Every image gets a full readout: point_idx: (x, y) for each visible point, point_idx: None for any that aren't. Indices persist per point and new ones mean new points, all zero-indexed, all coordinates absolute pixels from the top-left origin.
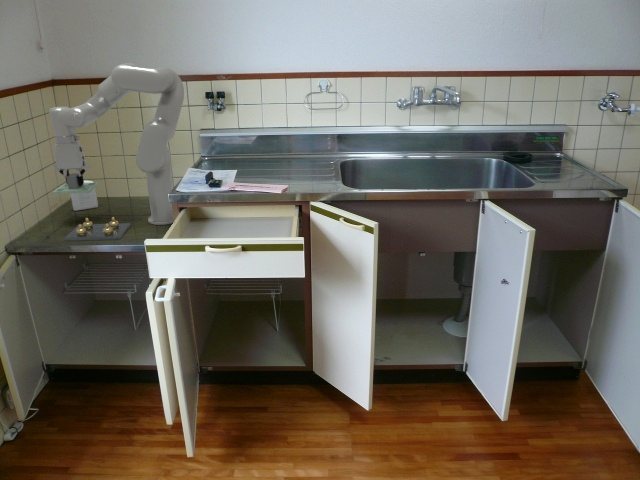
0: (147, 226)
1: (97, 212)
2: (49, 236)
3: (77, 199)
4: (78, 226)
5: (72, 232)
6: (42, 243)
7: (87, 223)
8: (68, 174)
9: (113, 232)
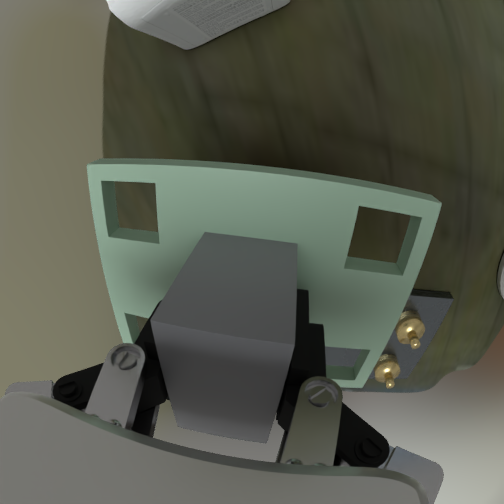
0: (485, 301)
1: (311, 80)
2: None
3: (186, 31)
4: None
5: None
6: None
7: None
8: (157, 391)
9: (398, 358)
